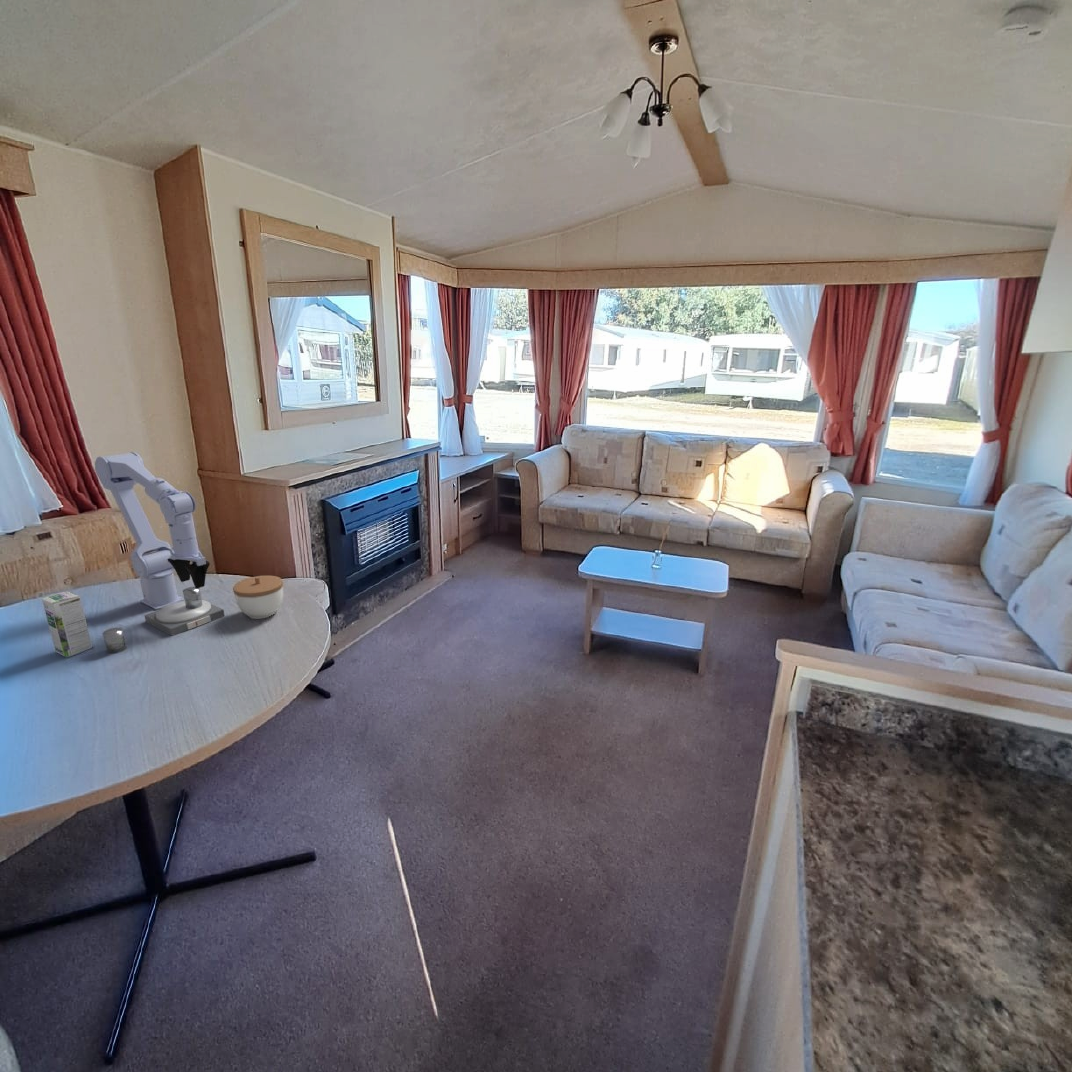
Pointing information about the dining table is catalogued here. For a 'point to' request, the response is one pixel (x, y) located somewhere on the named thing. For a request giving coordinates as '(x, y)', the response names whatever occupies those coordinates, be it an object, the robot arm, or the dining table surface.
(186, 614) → the scale
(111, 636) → the cylinder
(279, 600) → the lidded bowl
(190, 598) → the cylinder
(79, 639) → the syrup box
